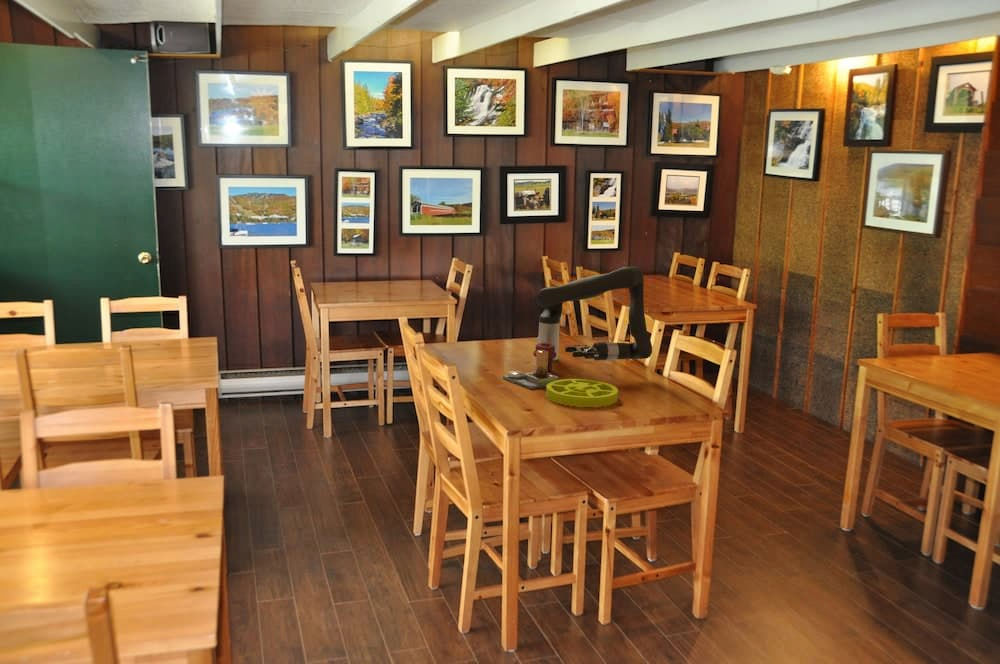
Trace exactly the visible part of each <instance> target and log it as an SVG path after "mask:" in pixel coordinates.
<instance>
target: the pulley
mask: <svg viewBox="0 0 1000 664" xmlns="http://www.w3.org/2000/svg"><path fill="white" fill-rule="evenodd" d="M545 391H546V392H545V398H546V399H547V398H548V399H547V400H549V401H550V400H551V401H550V402H552V401H553V403H555V402H556V403H555V404H558V403H560V404H559V405H561V404H564V405H563V406H566V405H569V406H568V407H572V406H576V407H575V408H583V407H596V408H602V407H601V406H605V407H607V406H606V405H610V406H612V405H611V404H613V403H615V402H616V401H617V402H618V401H619V400H618V395H619V388H618V387H616V386H615V385H613V384H610V383H607V382H604V381H600V380H599V381H598V380H594V379H585V378H584V379H583V378H568V379H567V378H566V379H565V378H564V379H558V380H557V381H553V382H550V383H548V384H547V386H546V388H545ZM617 402H616V403H617ZM616 403H615V404H616ZM613 405H614V404H613Z"/></svg>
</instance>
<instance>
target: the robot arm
mask: <svg viewBox="0 0 1000 664" xmlns="http://www.w3.org/2000/svg"><path fill="white" fill-rule="evenodd" d="M644 279H645V278H644V273H643V271H642V269H641V268H640V267H638V266H633V265H632V266H623V267H620V268H619V269H615V270H613V271H611V272H608V273H603V274H597V275H590V276H586V277H583V278H579V279H576V280H573V281H571V282H567V283H565V284H563V285H560V286H559V285H558V286H549V287H544V288H542V289H540V290H539V291H538V292H537V293H536V297H535V298H536V303H537V304H538V305H539V306H540V307H541V308H544V310H543V312H541V314H540V315H539V320H538V336H537V338H536V344H540V343H541V342H548V343H550V344H553V345H555V352H556V357H555V358H553V362H554V361H557V360H558V357H559V356H558V354H559V339H560V338H559V337H560V336H559V335H560V334H559V333H560V321H561V317H562V313H563V303H566V302H575V301H576V302H577V301H582V300H588V299H592V298H595V297H599V296H601V295H603V294H605V293H606V292H609V291H615V290H621V289H628V292H629V297H630V298H629V300H630V301H629V302H630V303H629V307H628V309H629V310H628V327H629V332H630V335H631V336H632V338H634V341H635V342H630V343H629V342H627V343H626V342H609V341H608V342H605V341H602V342H597V341H596V342H594V343H593V345H592V346H590V345H587V344H573V346H565V349H564V351H565V352H566V353H572V357H573V358H582V359H586V360H588V359H591V360H592V359H593V360H594V361H614V360H627V359H630V360H645V359H649V358H650V357H651V356H652V354H653V345H652V341H651V338H650V336H649V334H648V330H647V329H648V328H647V322H646V316H645V305H644V304H645V302H644V297H645V296H644V283H645V281H644Z"/></svg>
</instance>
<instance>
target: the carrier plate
mask: <svg viewBox="0 0 1000 664" xmlns="http://www.w3.org/2000/svg"><path fill="white" fill-rule="evenodd" d="M535 373H536V371H533V370H532V371H527V372H524V371H522V370H521V371H520V370H510V371H508V372H507V374H506V375H505V374H504V375H502V379H503V378H504V379H503V380H505V379H506V380H505V381H508V380H509V381H508V382H510V381H511V382H510V383H513V382H514V383H513V384H515V383H516V385H518V384H519V386H521V387H523V386H524V387H523V388H526V389H528V388H529V390H531V389H534V390H539V389H538V388H540V389H546V388H545V387H546V386H547V384H548V383H550V382H553V381H557V380H559V376H557V375H554V374H552V373H550V372H547V378H540V379H539V378H536V377H534V376H535Z"/></svg>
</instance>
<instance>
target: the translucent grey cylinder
mask: <svg viewBox="0 0 1000 664" xmlns="http://www.w3.org/2000/svg"><path fill="white" fill-rule="evenodd" d="M547 367H548V351H545V350H538V351H537V352H536V357H535V372H536V373H535V376H534V377H536V378H539V379H540V378H547V373H548V371H547Z"/></svg>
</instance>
